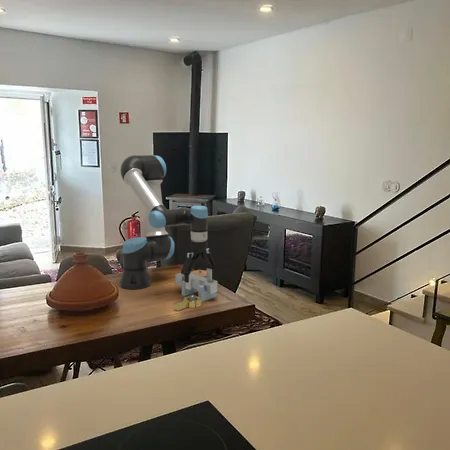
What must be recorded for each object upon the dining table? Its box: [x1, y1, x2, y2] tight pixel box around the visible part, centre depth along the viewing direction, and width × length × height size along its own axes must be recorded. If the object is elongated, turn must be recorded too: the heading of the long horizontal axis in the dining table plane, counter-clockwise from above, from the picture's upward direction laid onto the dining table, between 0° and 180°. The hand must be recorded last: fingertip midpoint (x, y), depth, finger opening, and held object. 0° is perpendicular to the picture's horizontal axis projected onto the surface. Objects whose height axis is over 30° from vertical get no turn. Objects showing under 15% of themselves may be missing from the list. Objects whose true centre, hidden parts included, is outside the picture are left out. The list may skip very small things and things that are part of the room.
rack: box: [181, 280, 217, 303], centre depth 202 cm, size 15×10×8 cm, turn 48°
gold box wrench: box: [173, 295, 202, 311], centre depth 189 cm, size 13×8×3 cm, turn 138°
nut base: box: [188, 293, 197, 301], centre depth 191 cm, size 9×9×6 cm
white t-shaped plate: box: [175, 271, 218, 294], centre depth 202 cm, size 21×7×5 cm, turn 48°
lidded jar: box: [191, 269, 207, 278], centre depth 216 cm, size 11×11×9 cm
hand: (198, 285), depth 202 cm, fingers open, 13 cm apart
